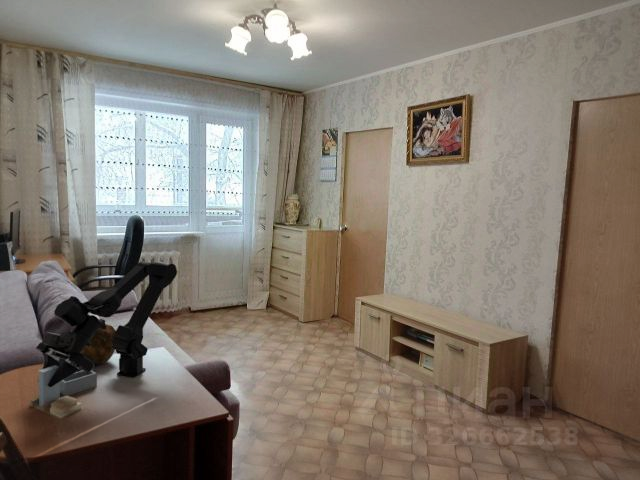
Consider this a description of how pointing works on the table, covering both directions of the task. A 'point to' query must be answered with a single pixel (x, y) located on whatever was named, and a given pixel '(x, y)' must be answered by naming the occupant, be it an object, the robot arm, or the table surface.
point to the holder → (78, 382)
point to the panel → (45, 391)
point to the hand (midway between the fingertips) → (44, 384)
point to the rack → (58, 406)
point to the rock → (100, 345)
